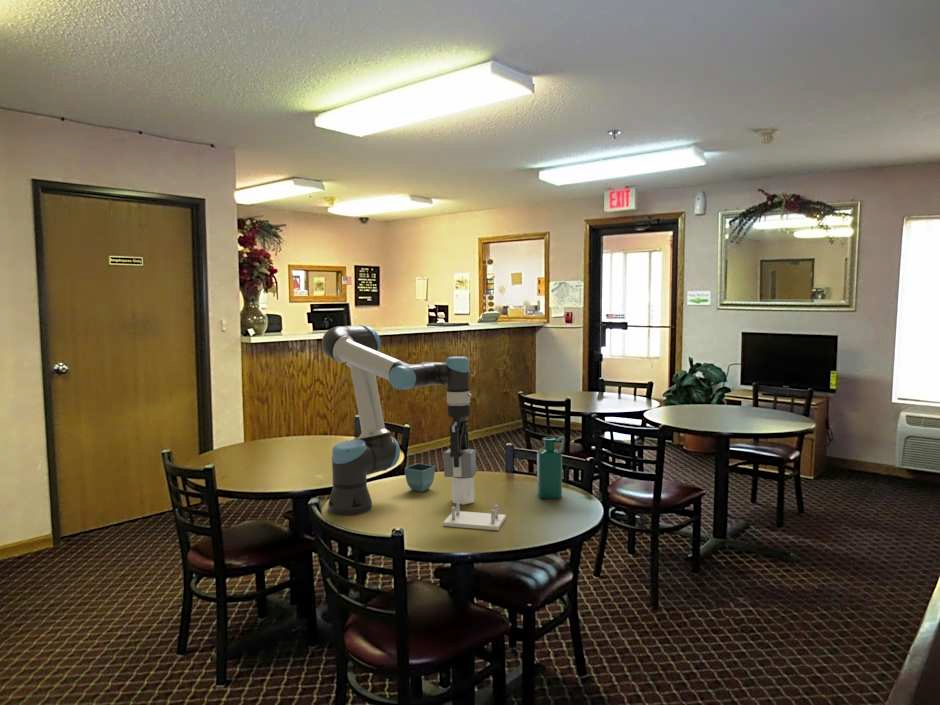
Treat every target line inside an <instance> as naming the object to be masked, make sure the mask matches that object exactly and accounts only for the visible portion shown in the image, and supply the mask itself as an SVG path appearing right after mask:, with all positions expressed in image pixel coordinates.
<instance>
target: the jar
mask: <svg viewBox="0 0 940 705" xmlns="http://www.w3.org/2000/svg"><path fill="white" fill-rule="evenodd" d="M451 500H452V504H456V502H459V503H460V505H464V506H465V505H468V504H472V503H473V504H474V503H475V475H474V476H473V477H472V478H460V477H451Z"/></svg>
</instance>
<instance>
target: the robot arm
mask: <svg viewBox="0 0 940 705" xmlns="http://www.w3.org/2000/svg"><path fill="white" fill-rule="evenodd" d="M321 348H322V351H323V352H324V354H325V356H327V357H328V358H329V359H331V360H333V361H335V362H338V363H341V364H342V363H344V364H345V366H347V367H348V368H350V374H351V378H352V384H353V390H354V397H355V401H356V407H357V412H358V417H359V425H360V430H361V433H360V434H359V436H358V439H356V438H355V439H354V438H353V439H349V440H343V441H339V442H338V443H336V444H335V445H334V446H333V448H332V449H331V450H332V451H331V452H332V453H331V468H332V488H331V489H332V490H331V492H330V496H329V499H328V502H327V508H328V512H329V513H330V514H332V515H336V516H354V515H360V514H365V513H367V512H369V511H370V510H372V508H373V500H372V497H371V494H370V492H369V488H368V487H367V485H368V484H367V479H368V478H367V476H369V475H372V474H375V473H379V472H384V471H387V470H389V469H392V468H393V467H394V466H396V465H397V463H398V461H399V460H400V456H401V448H400V445H399V442H398V441H397V439H396V438H395V437H393V436H392V435H391V432H390V430H388V429H387V428H386V425H385V422H384V414H383V410H382V409H383V408H382V404H381V398H380V393H379V388H378V382H377V377H380V378H382V379H383V380H386V381H388V382H389V384H390V385H391V386H392V388H393V389H396V390H399V391H401V390H403V391H405V390H410V389H414V388H421V387H428V386H433V385H434V386H435V385H437V386H446V403H447V404H448V405H447V406H446V410H447V411H446V412H447V416H448V417H450V418H452V422H451V425H449V433H450V434H449V436H450V438H449V439H450V440H449V442H450V446H449V449H450V457H453V477H462V460H461V457H460V453H461V449H470V443H469V442H470V439H469V419H466V417H469V416H471V415H472V414H471V404H470V403H471V397H472V394H471V393H470V392H471V390H470V389H471V388H470V380H471V379H470V378H471V376H470V374H471V373H470V371H471V370H470V361H469V358H468V357H466V356H448V357H447V358H445V359H446V360H445V362H440V361H439V362H438V361H437V362H436V361H423V362H421V363H415V364H411V363H407V362H405V361H402V360H400V359H398V358H395V357H393V356H390V355H388V354H385V353H383V352H380V348H381V339H380V335H379V334H378V332H377V331H376V330H375V329H374V328H373V327H371V326H369V325H362V324H361V325H360V324H359V325H342V326H341V325H340V326H334V327H331V328H329V329H328V330H327V331H326V332H324V334H323V336H322V339H321Z"/></svg>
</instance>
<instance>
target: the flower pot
mask: <svg viewBox="0 0 940 705" xmlns="http://www.w3.org/2000/svg"><path fill="white" fill-rule="evenodd" d="M435 472H436V466H435V465H431V464H425V463H418V462H417V463H414V464H411V465H409V466H407V467H404V473H405V474H404V475H405V479H406V483H407V485H408V487H409V489H410V490H411V491H415V492H421V493H422V492H424V491H427V490H429V489H430V488H431V487H432V484H433V482H434V479H435Z"/></svg>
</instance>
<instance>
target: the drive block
mask: <svg viewBox="0 0 940 705" xmlns="http://www.w3.org/2000/svg"><path fill="white" fill-rule="evenodd" d="M460 457H461V460H462V477H460V478H472V477H473V476H474V477H475V475H476V474H477V466H476V465H477V463H476V462H477V459H476V449H473V448H472V449H471V448H469V449H461V453H460ZM443 466H444V469H443V471H444V473H443V475H444V478H448V477H449V478H452V477H453V457H450V448H448V449H447V450H445V451H444V452H443Z"/></svg>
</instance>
